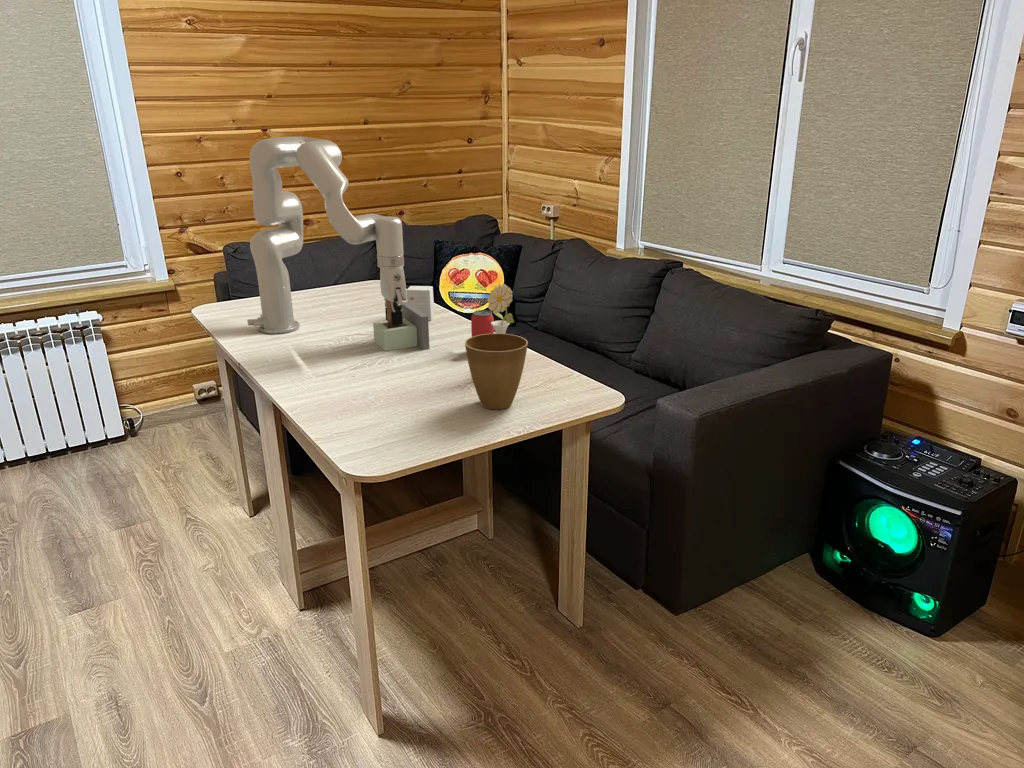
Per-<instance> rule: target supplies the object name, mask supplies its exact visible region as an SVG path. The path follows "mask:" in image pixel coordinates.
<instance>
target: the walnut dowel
mask: <svg viewBox="0 0 1024 768" xmlns="http://www.w3.org/2000/svg"><path fill="white" fill-rule="evenodd" d="M394 301H397V299H394ZM386 303H387V307H386V308H387V320H388V329H389V328H396V327H402V325H401V324H400V325H392V320H391V312H392V306H391V302H390V301H389V300H387V299H386ZM396 304H397V303H394V306H395V305H396ZM387 320H386V321H387Z"/></svg>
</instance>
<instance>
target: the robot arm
mask: <svg viewBox="0 0 1024 768" xmlns="http://www.w3.org/2000/svg"><path fill="white" fill-rule="evenodd" d="M342 160H343V155H342V151H341V149H340V147H339V146H338V144H336V143H335V142H334V141H332V140H330V139H329V140H328V139H321V138H314V137H307V136H301V135H300V136H297V135H295V136H293V135H292V136H281V137H277V136H276V137H269V138H265V139H261V140H259V141H257V142H256V143H255V144H254V145H253V146H252V147H251V149H250V152H249V168H250V173H251V179H252V180H251V181H252V201H253V202H252V203H253V204H252V205H253V214H254V215H253V216H254V219H255V220H256V222H257V224H259V225H260V226H265V227H271V226H277V227H272V228H267V229H263V230H260V231H258V232H256V233H255V234H254V235H253V236H252V238H250V242H249V247H250V253H251V255H252V258H253V262H254V266H255V270H256V275H257V276H256V277H257V283H258V290H259V291H258V292H259V299H260V307H261V314H260V315H259V317H257V318H255V319H254V318H250V319H247V320H246V321H247V325H248V326H249V327H251V326H253V327H258V330H259V332H261V333H264V334H272V335H273V334H275V335H276V334H277V335H278V333H279V334H286V333H291V332H294V331H296V330H298V329H299V328H300V322H299V321H297V320H295V319H294V318H295V316H294V310H293V309H294V308H293V302H292V301H293V299H292V290H291V283H290V275H289V274H290V273H289V271H288V268H287V266H286V264H285V263H284V261H283V259H285V258H288V257H292V256H295V255H297V254H298V253H300V252H301V251H302V248H303V245H304V210H303V205H302V202H301V199H300V198H299V197H298V196H297V195H296V194H295V193H294V192H292V191H287V190H284V191H283V180H282V176H281V174H280V172H279V171H278V169H280V168H282V169H283V168H291V167H300V168H301V169H302V171H303V173H305V174H306V176H307V178H309V180H310V181H311V182H312V184H313V185H314V186H315V187H316V189H317V191H319V192H320V194H321V196H323V199H324V209H325V212H326V217H327V219H328V221H329V223H330V225H331V226H332V227H333V228H334V230H335V231H336V233H337V234H338V235H339V236H340V238H342V239H343V240H344V241H345V242H346V243H348V244H350V245H360V244H364V243H368V242H372V241H376V242H375V245H376V259H377V261H376V262H377V267H378V268H379V279H380V282H379V284H380V293H381V296H382V297H383V298H384V307H385V308H384V309H385V312H384V313H385V321H388V320H387V303H386V299H387V300H389V301H390V302H391V306H392V312H391V320H392V325H400V324H403V319H402V306H403V302H407V291H406V290H407V284H406V276H405V271H404V266H405V257H404V255H405V254H404V239H403V222H402V219H401V218H400V217H398V216H387V215H386V216H383V215H381V214H378V213H377V214H376V213H366V214H360V215H357V216H354V215H353V214H352V213H351V211H350V210H349V209H348V208H347V206H346V205H345V202H344V199H343V194H344V193H345V192H346V190H347V189H348V187H349V185H350V184H349V179H348V178H347V177H346V175H345V174H344V173H343V172H342V170H340V165H341V164H342ZM394 299H397V301H394ZM394 303H397V304H396V305H395V306H394Z"/></svg>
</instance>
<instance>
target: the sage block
mask: <svg viewBox="0 0 1024 768" xmlns="http://www.w3.org/2000/svg"><path fill="white" fill-rule="evenodd" d="M401 325H402V327H396V328H389V329H388V321H387V320H384V321H383V320H381V321H375V322H374V321H373V323H372V326H373V328H372V329H373V339H374V343H375V344H376V345H377V346H378V347H380V348H381V349H382V350H383V351H385V352H387V351H388V352H389V351H395V350H403V349H408V348H409V349H410V348H414V347H419V346H418V344H417V327H416V326H415V325H414V324H412V323H411V322H409V321H408V320H407V319H405V318H403V324H401Z"/></svg>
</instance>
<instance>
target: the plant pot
mask: <svg viewBox="0 0 1024 768" xmlns="http://www.w3.org/2000/svg"><path fill="white" fill-rule="evenodd" d="M528 345H529V342H528V340H527V339H526V338H524V337H522V336H519V335H515V334H512V333H511V334H509V333H505V334H499V333H495V332H494V334H482V335H477V336H473V337H472V336H471V337H468V338H467V339H466V340H465V341H464V346H465V352H466V357H467V363H468V368H469V371H470V376H471V379H472V383H473V385H474V389H475V391H476V392H475V393H476V394H477V397H478V399H479V402H480V404H481V406H482V407H483V408H485V409H488V410H505V409H508V408H510V407H511V406H512V404H513V402H514V399H515V398H516V397H515V396H516V394H517V391H518V389H519V386H520V383H521V379H522V375H523V370H524V367H525V362H526V356H527V350H528Z"/></svg>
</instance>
